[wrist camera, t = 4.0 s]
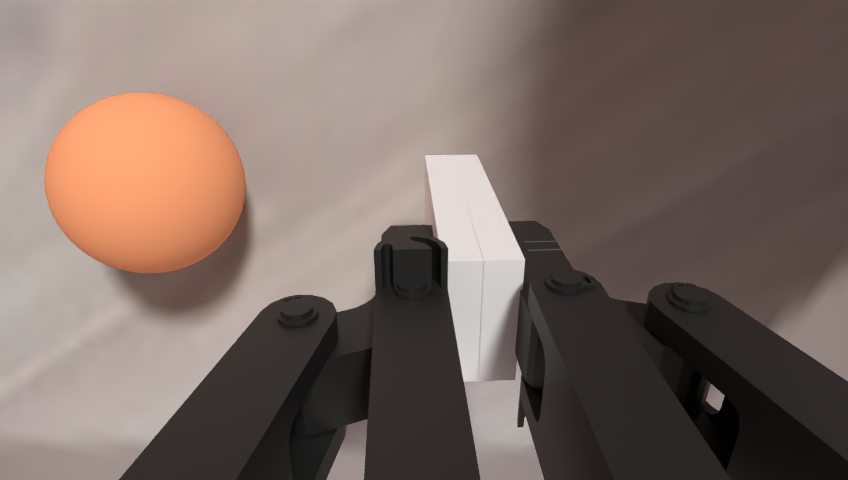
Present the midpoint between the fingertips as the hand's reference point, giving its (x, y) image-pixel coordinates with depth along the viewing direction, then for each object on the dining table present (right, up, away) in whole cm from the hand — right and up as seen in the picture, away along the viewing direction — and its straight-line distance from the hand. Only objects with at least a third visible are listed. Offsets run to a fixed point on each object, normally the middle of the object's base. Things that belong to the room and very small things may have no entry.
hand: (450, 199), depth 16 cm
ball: (-9, 0, +1) cm, 9 cm away
